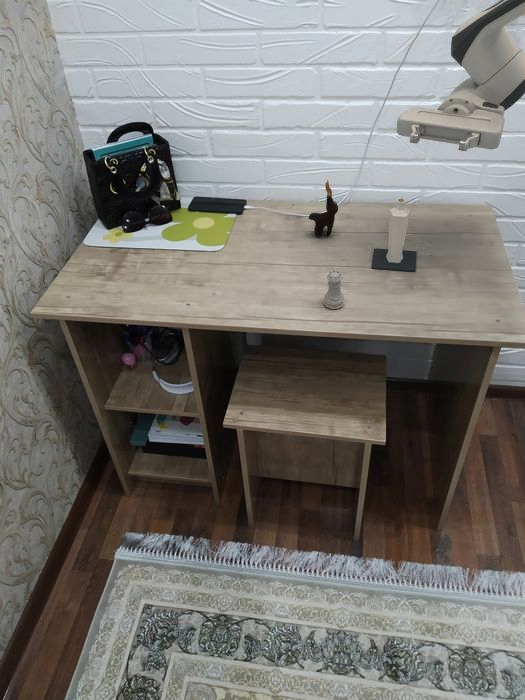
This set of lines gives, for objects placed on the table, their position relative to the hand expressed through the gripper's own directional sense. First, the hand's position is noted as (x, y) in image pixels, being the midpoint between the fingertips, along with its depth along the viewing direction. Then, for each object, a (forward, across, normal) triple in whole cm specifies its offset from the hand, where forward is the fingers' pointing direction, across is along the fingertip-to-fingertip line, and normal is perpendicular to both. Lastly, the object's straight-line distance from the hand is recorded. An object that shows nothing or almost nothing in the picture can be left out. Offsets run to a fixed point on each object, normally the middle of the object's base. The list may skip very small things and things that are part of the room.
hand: (437, 143), depth 108 cm
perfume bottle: (-4, -7, +30) cm, 31 cm away
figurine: (-8, -27, +30) cm, 41 cm away
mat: (-4, -7, +30) cm, 31 cm away
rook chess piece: (+17, -13, +31) cm, 38 cm away
